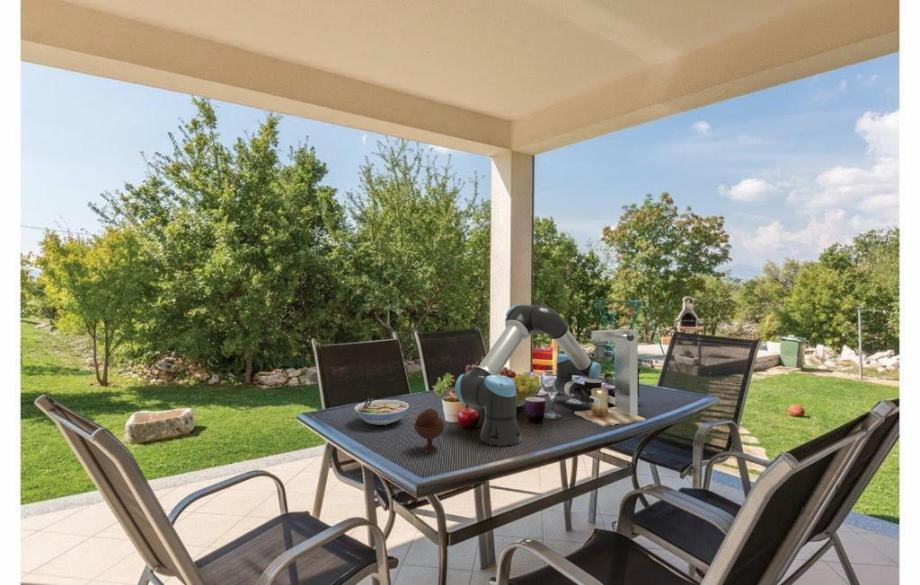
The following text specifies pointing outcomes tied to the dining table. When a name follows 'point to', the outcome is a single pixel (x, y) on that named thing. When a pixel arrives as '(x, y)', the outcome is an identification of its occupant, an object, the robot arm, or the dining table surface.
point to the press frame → (622, 366)
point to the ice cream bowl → (429, 427)
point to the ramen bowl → (381, 411)
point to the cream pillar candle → (603, 397)
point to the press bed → (609, 417)
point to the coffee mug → (592, 383)
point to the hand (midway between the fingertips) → (606, 401)
